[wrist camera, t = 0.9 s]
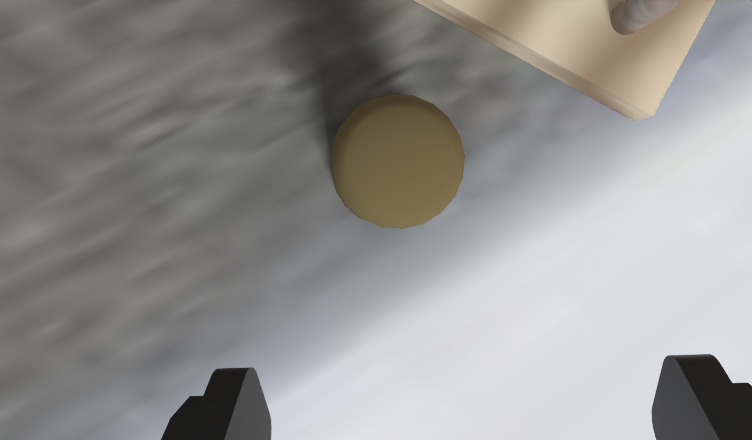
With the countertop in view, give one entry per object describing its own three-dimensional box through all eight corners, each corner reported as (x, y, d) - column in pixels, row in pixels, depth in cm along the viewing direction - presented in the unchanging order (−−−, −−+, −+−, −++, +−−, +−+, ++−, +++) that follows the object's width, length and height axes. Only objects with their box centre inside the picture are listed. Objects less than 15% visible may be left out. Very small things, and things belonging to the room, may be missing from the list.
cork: (393, 94, 31) (410, 39, 20) (462, 177, 31) (517, 169, 20) (310, 164, 31) (281, 149, 20) (380, 247, 31) (390, 276, 20)
